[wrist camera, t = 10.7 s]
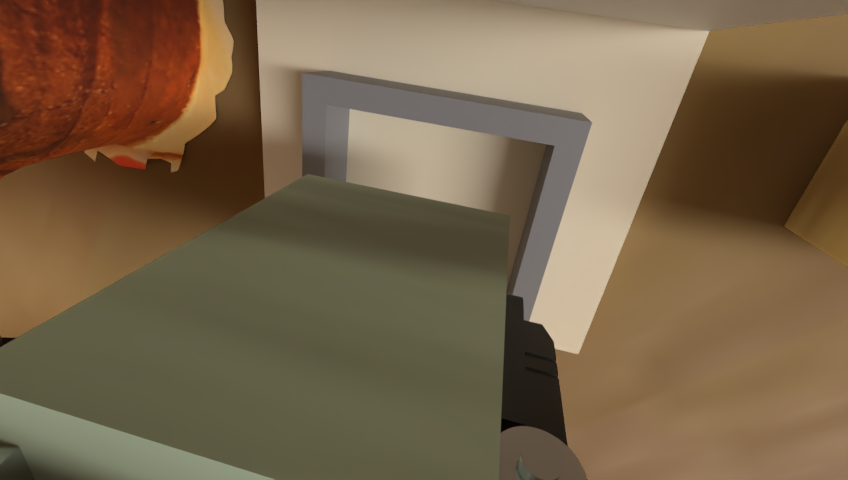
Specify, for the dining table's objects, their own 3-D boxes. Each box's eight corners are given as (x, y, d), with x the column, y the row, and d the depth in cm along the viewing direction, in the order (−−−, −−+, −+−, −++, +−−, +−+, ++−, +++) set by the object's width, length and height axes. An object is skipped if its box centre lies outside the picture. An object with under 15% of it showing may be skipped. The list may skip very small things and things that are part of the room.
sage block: (307, 173, 10) (-53, 376, 4) (509, 215, 9) (496, 548, 3) (306, 333, 12) (81, 629, 6) (469, 375, 11) (412, 759, 5)
